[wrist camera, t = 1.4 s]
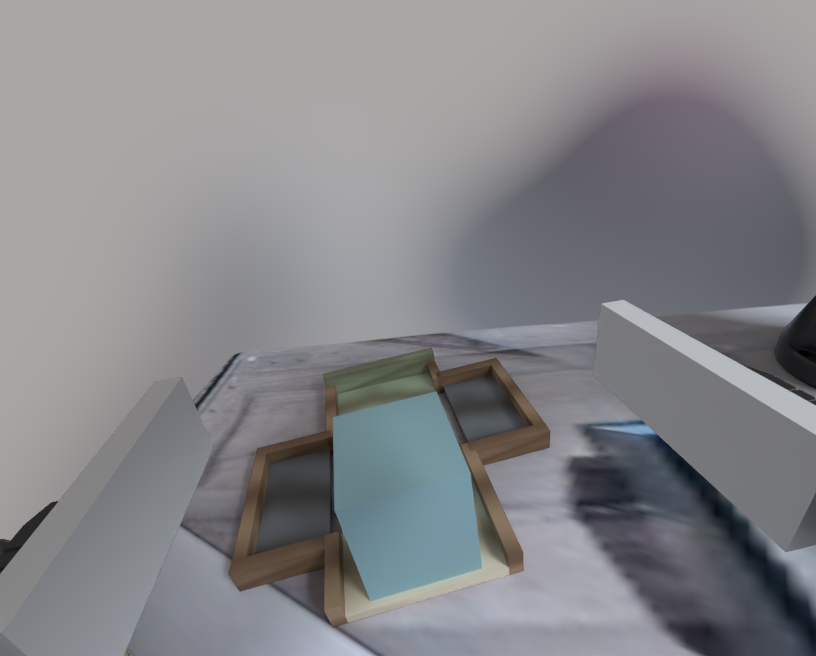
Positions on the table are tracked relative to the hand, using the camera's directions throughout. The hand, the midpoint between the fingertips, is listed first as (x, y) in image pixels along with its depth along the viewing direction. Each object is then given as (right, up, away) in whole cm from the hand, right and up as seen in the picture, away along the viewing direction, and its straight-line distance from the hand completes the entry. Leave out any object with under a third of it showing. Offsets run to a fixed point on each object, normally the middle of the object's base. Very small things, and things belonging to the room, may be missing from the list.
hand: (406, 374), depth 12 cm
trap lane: (-1, -13, +30) cm, 33 cm away
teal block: (+1, -16, +22) cm, 27 cm away
